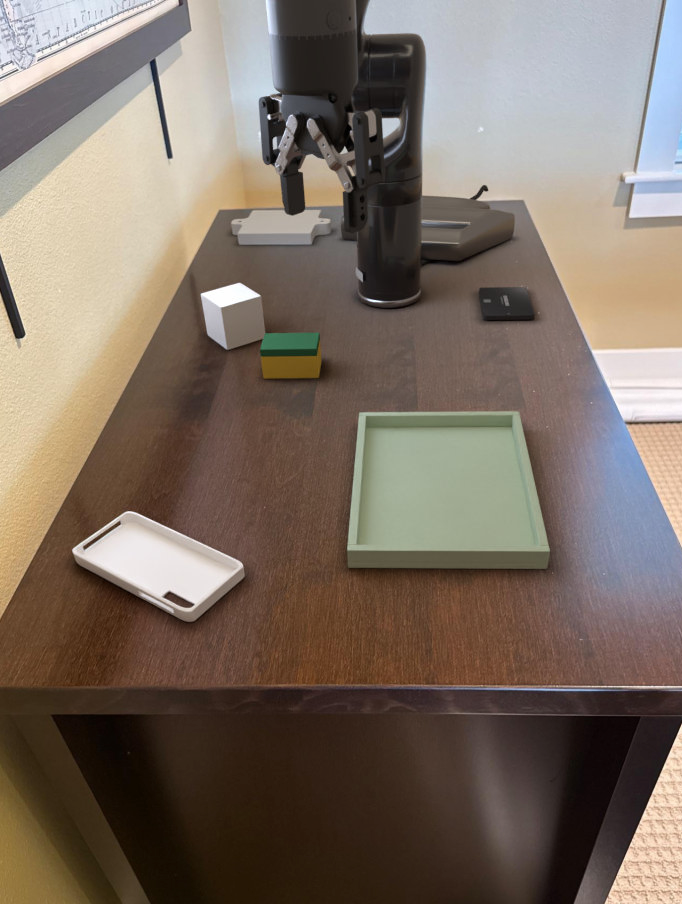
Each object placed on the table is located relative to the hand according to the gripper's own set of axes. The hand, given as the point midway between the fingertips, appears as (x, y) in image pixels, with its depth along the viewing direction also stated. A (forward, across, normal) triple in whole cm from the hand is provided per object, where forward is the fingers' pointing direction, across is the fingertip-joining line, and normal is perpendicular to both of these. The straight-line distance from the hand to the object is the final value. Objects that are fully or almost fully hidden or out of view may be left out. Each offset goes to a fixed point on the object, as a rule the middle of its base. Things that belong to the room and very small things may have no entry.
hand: (324, 221), depth 76 cm
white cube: (+22, +26, -6) cm, 34 cm away
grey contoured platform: (+22, +31, -52) cm, 64 cm away
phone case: (+22, -7, +29) cm, 37 cm away
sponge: (+22, +12, -4) cm, 26 cm away
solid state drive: (+22, +3, -37) cm, 44 cm away
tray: (+22, -18, +3) cm, 29 cm away
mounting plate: (+22, +54, -38) cm, 70 cm away
